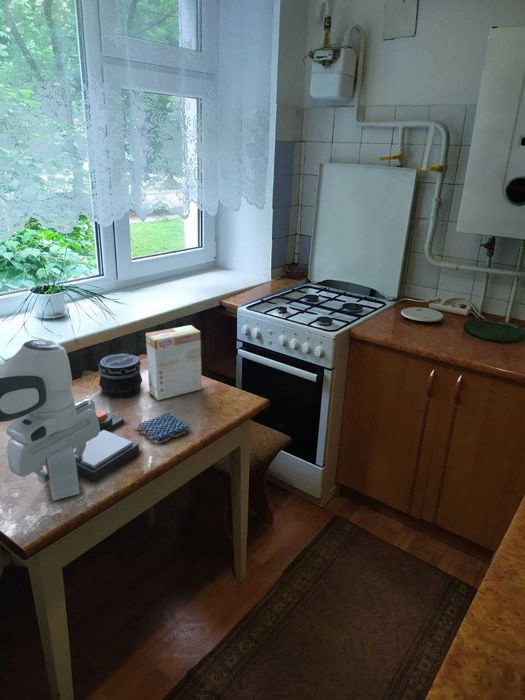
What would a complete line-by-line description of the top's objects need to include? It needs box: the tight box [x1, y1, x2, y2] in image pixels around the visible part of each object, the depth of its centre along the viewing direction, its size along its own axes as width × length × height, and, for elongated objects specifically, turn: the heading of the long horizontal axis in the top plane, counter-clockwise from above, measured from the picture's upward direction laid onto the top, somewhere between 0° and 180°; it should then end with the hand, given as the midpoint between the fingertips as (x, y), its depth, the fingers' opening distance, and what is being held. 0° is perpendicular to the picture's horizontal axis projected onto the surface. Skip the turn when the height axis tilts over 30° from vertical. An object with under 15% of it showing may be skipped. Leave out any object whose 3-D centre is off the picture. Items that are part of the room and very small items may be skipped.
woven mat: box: [136, 412, 190, 444], centre depth 131 cm, size 10×11×2 cm
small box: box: [45, 445, 80, 502], centre depth 107 cm, size 8×6×10 cm
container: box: [97, 353, 143, 399], centre depth 151 cm, size 13×13×10 cm
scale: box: [73, 430, 140, 483], centre depth 118 cm, size 14×12×3 cm
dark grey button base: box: [99, 411, 125, 432], centre depth 132 cm, size 10×7×3 cm
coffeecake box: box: [145, 324, 203, 401], centre depth 150 cm, size 15×7×20 cm, turn 124°
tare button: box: [95, 410, 107, 421], centre depth 131 cm, size 3×3×2 cm
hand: (61, 471), depth 107 cm, fingers closed on small box, 7 cm apart
